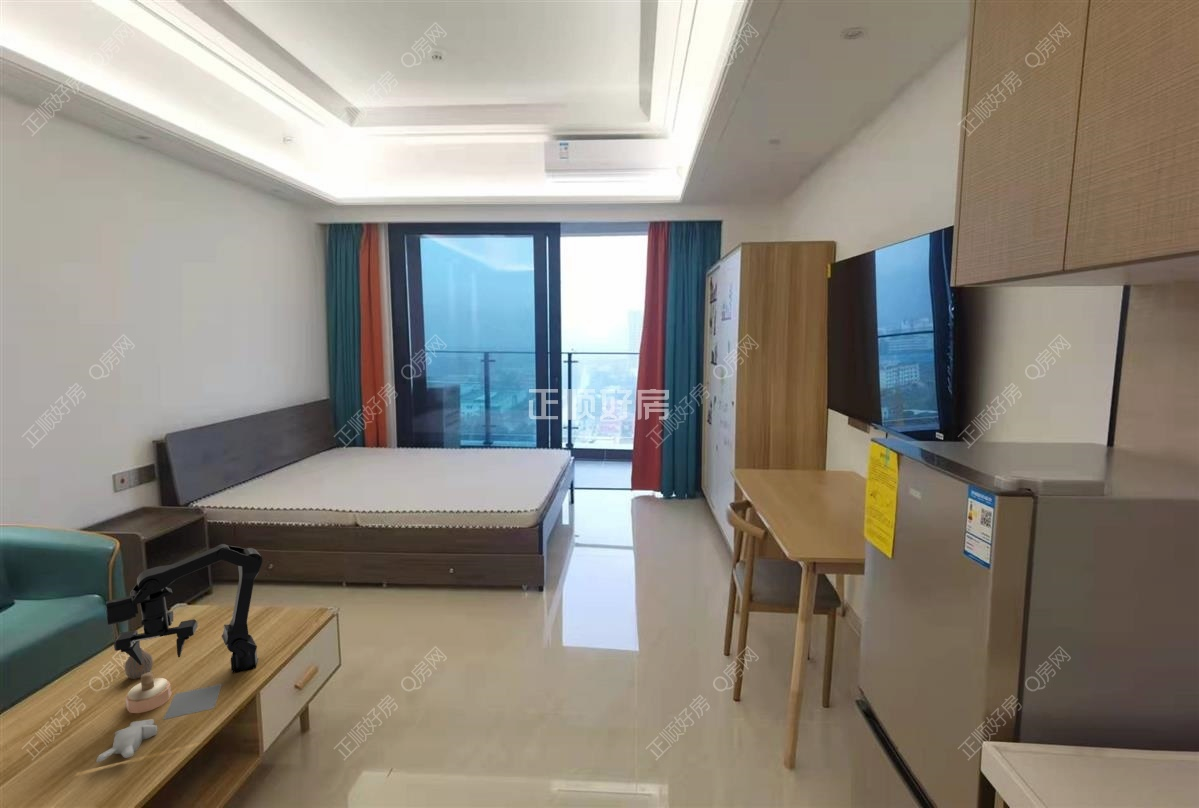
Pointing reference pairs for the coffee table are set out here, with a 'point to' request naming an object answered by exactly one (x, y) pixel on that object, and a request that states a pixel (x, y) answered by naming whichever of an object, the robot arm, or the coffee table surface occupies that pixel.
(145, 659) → the vase
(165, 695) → the bowl
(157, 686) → the lid
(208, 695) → the mat
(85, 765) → the coffee table surface
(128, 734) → the grey toy figurine
